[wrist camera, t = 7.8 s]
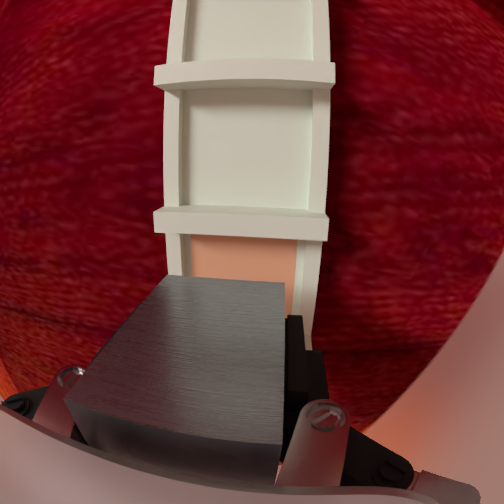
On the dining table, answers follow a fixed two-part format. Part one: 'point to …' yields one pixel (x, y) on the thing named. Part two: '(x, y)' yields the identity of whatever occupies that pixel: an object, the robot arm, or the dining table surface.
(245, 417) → the tall gray pillar
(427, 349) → the dining table surface
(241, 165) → the white compartment tray
